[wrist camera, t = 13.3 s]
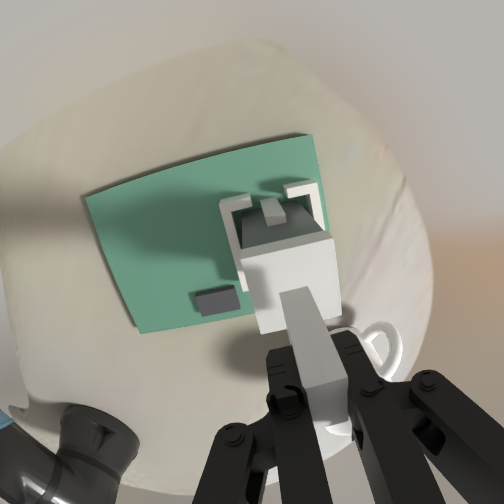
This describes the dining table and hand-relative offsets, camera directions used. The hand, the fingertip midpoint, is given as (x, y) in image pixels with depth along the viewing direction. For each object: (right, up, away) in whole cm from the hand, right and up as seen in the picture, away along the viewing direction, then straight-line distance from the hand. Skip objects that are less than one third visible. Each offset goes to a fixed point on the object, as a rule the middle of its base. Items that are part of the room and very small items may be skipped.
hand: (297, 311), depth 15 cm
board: (-6, +4, +13) cm, 15 cm away
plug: (0, +5, +12) cm, 13 cm away
